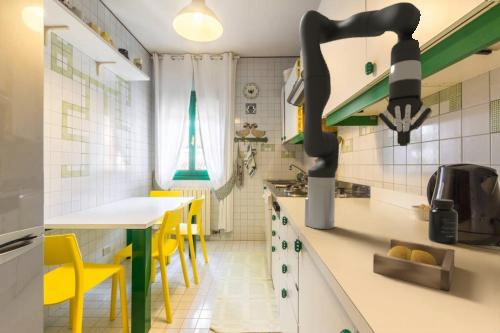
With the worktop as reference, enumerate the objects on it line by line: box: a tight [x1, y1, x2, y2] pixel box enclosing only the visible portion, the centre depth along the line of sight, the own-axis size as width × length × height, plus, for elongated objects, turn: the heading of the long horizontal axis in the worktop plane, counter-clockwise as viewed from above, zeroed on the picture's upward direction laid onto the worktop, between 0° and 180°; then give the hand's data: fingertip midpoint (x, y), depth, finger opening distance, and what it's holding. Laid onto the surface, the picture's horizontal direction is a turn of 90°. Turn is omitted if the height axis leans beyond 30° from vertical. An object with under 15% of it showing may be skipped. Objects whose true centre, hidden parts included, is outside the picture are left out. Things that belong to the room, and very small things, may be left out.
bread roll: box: [387, 246, 438, 266], centre depth 57 cm, size 8×9×4 cm
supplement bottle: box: [427, 198, 459, 245], centre depth 76 cm, size 7×7×12 cm
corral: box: [372, 238, 455, 292], centre depth 55 cm, size 12×15×4 cm
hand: (403, 145), depth 71 cm, fingers closed
